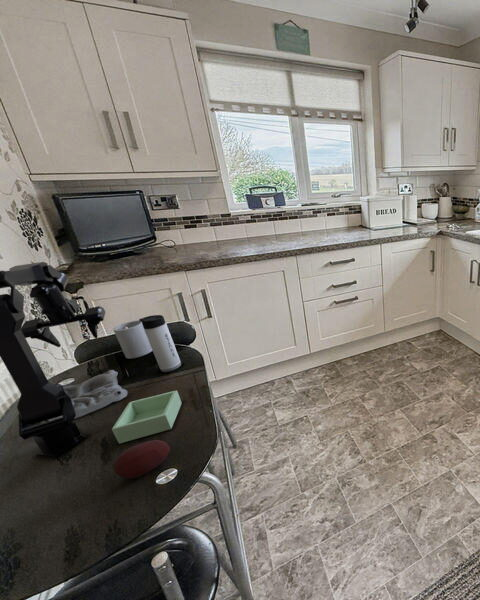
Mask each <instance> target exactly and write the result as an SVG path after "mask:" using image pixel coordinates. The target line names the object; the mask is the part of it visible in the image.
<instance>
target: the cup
mask: <svg viewBox="0 0 480 600" xmlns="http://www.w3.org/2000/svg"><path fill="white" fill-rule="evenodd" d="M112 330H113V332H114V334H115V337H116V339H117V342H118V343H119V346H120V348H121V350H122V352H123V355H124V356H125V358H126V359H129V360H130V359H136V358H140V357H143V356H145V355H148V354H150V353H151V352H153V350H152V348H151V345H150V343H149V340H148V338H147V335H146V333H145V330H144V327H143V325H142V322H139V319H138V320H137V319H136V320H130V321H127V322H123V323H121V324H119V325H116V326H115V327H114V328H112Z"/></svg>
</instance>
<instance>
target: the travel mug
mask: <svg viewBox="0 0 480 600" xmlns="http://www.w3.org/2000/svg"><path fill="white" fill-rule="evenodd" d="M138 320H139V322H142V325H143V327H144V330H145V333H146V335H147V338H148V340H149V343H150V345H151V348H152V352H153V355H154V357H155V360H156V362H157V365H158V367H159V370H160V371H161V372H162V373H169V372H172V371H175V370H176V369H178V368H180V367H181V366H182V361H181V358H180V357H179V354H178V351H177V349H176V345H175V343H174V340H173V337H172V336H171V335H172V334H171V332H170V330H169V326H168V324H167V322H166V320H165V318H164V316H163V315H162V314H153V315H148V316H144V317H142V318H139V319H138Z"/></svg>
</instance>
